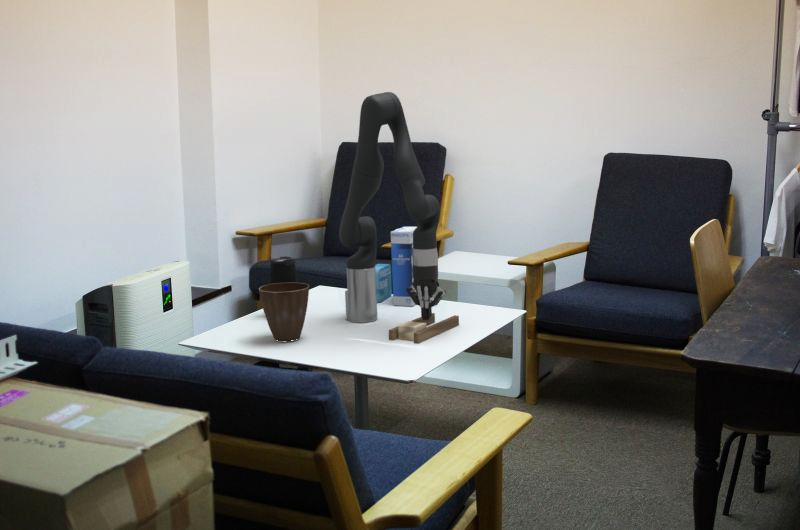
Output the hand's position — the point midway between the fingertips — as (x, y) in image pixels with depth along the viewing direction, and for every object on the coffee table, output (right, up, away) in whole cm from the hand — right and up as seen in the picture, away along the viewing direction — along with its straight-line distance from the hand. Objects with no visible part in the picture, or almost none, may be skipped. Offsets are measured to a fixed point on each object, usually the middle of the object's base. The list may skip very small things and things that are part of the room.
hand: (426, 319), depth 278 cm
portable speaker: (-46, -1, +30) cm, 55 cm away
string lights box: (-5, +3, +44) cm, 45 cm away
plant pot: (-42, -6, 0) cm, 42 cm away
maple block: (-4, -5, -6) cm, 9 cm away
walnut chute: (0, -4, -1) cm, 5 cm away
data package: (-15, +4, +51) cm, 53 cm away
